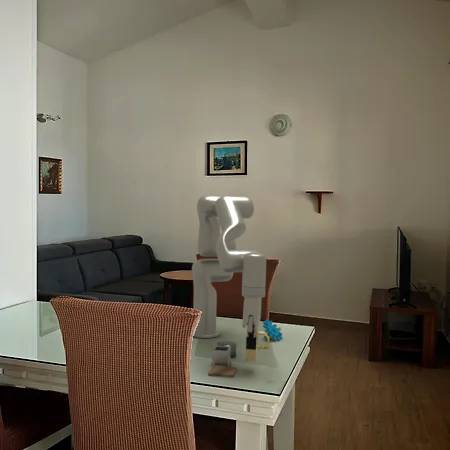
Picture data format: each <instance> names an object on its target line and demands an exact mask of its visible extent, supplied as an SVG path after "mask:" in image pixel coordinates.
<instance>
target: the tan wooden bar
mask: <svg viewBox="0 0 450 450" xmlns="http://www.w3.org/2000/svg"><path fill="white" fill-rule="evenodd" d="M253 327H255V326H253ZM253 331H254V330H253ZM258 332H259V327H258V328H256V337H257V338H256V350H250V349H246V348H245V362H251V363H253V362H254V363H256V362H257V359H258V348H257V339H259V334H258Z"/></svg>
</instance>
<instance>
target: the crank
mask: <svg viewBox="0 0 450 450" xmlns="http://www.w3.org/2000/svg"><path fill="white" fill-rule="evenodd" d="M237 345H238V344H237V343H236V342H234V341H231V340H230V341H226V340H224V341H223V340H222V341H218V342H217V343H216V345H215V346H214V347H213V349H212V350H211V351H212V353H211V354H212V355H211V366H213V365H217V366H230V364H231V360H232V358H236V357H237Z"/></svg>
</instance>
